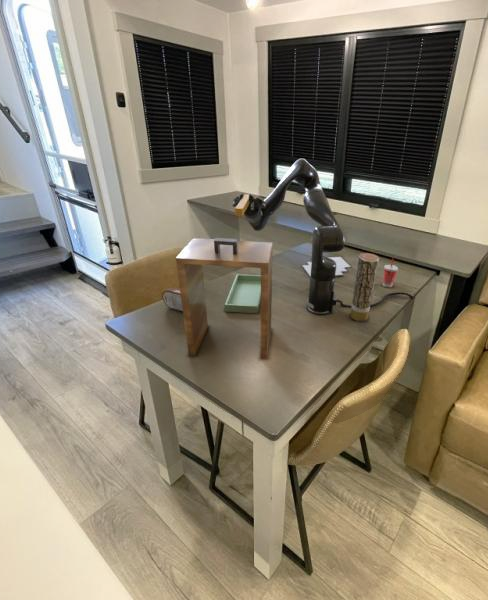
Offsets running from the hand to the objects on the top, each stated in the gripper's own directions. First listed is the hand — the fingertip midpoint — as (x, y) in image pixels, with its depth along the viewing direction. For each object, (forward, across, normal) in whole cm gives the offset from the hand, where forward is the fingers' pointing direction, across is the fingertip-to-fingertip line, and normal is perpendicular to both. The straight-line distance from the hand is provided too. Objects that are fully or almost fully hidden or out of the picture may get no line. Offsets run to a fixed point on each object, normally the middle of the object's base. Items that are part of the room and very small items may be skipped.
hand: (245, 196), depth 122 cm
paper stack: (-44, +36, +20) cm, 60 cm away
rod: (+3, 0, +5) cm, 6 cm away
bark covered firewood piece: (-3, +45, +43) cm, 62 cm away
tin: (-2, -22, +44) cm, 49 cm away
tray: (-14, 0, +36) cm, 39 cm away
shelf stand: (+13, 0, +52) cm, 54 cm away
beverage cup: (-29, +63, +28) cm, 75 cm away
